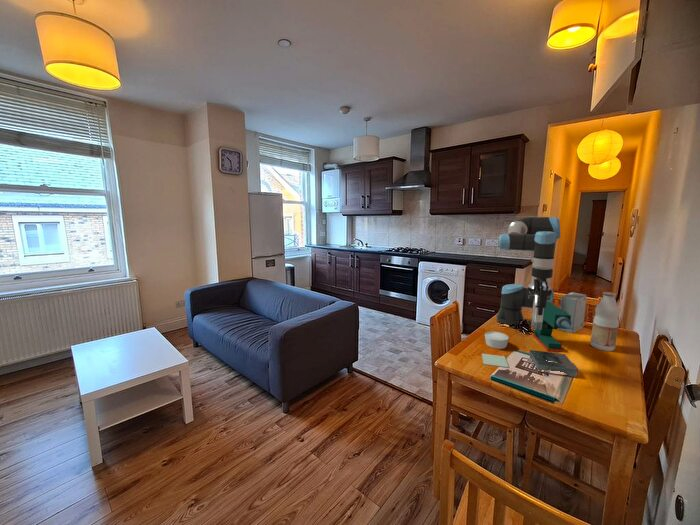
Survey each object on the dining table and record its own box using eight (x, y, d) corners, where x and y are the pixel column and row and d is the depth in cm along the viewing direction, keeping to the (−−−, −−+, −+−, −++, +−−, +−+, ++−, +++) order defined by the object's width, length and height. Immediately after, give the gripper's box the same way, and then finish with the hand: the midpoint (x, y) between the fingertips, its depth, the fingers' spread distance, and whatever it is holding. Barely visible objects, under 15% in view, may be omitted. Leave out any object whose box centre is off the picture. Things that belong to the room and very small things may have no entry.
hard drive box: (568, 323, 176) (571, 291, 173) (583, 327, 170) (587, 294, 167) (557, 329, 168) (561, 296, 164) (573, 333, 162) (577, 299, 158)
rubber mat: (481, 354, 140) (481, 353, 140) (504, 357, 137) (504, 356, 137) (483, 364, 131) (483, 363, 131) (508, 367, 128) (508, 367, 128)
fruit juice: (593, 349, 144) (600, 294, 139) (588, 341, 152) (594, 289, 147) (617, 352, 139) (626, 296, 135) (611, 345, 148) (619, 291, 143)
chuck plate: (529, 356, 137) (529, 349, 137) (564, 361, 133) (564, 354, 132) (537, 371, 124) (538, 364, 123) (576, 377, 120) (577, 369, 119)
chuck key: (525, 324, 132) (527, 292, 129) (545, 326, 129) (549, 294, 126) (526, 328, 128) (529, 295, 126) (548, 330, 125) (551, 296, 123)
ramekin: (494, 338, 157) (494, 329, 156) (513, 347, 147) (514, 337, 146) (479, 343, 152) (479, 333, 151) (498, 352, 142) (498, 342, 142)
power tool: (579, 366, 128) (584, 323, 125) (561, 365, 129) (566, 322, 126) (546, 336, 159) (549, 301, 155) (532, 335, 160) (535, 300, 157)
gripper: (528, 264, 133) (523, 312, 137) (537, 271, 117) (531, 325, 121) (547, 264, 130) (542, 314, 134) (559, 272, 115) (552, 327, 119)
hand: (537, 319), depth 128 cm, fingers closed on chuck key, 4 cm apart
